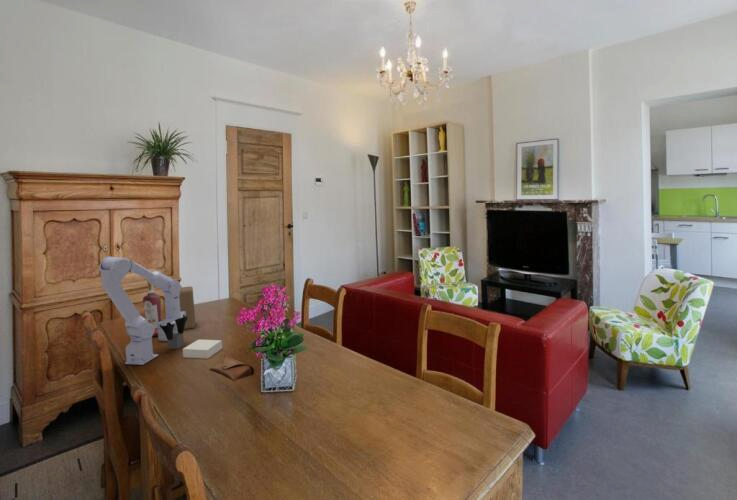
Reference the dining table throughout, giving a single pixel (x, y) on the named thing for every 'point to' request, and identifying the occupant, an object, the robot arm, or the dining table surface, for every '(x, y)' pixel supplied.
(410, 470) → the dining table surface
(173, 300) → the robot arm
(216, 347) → the white flat panel
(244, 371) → the sunglasses case
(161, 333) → the medicine box
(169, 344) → the charcoal block
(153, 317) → the liquor
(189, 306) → the wooden block
